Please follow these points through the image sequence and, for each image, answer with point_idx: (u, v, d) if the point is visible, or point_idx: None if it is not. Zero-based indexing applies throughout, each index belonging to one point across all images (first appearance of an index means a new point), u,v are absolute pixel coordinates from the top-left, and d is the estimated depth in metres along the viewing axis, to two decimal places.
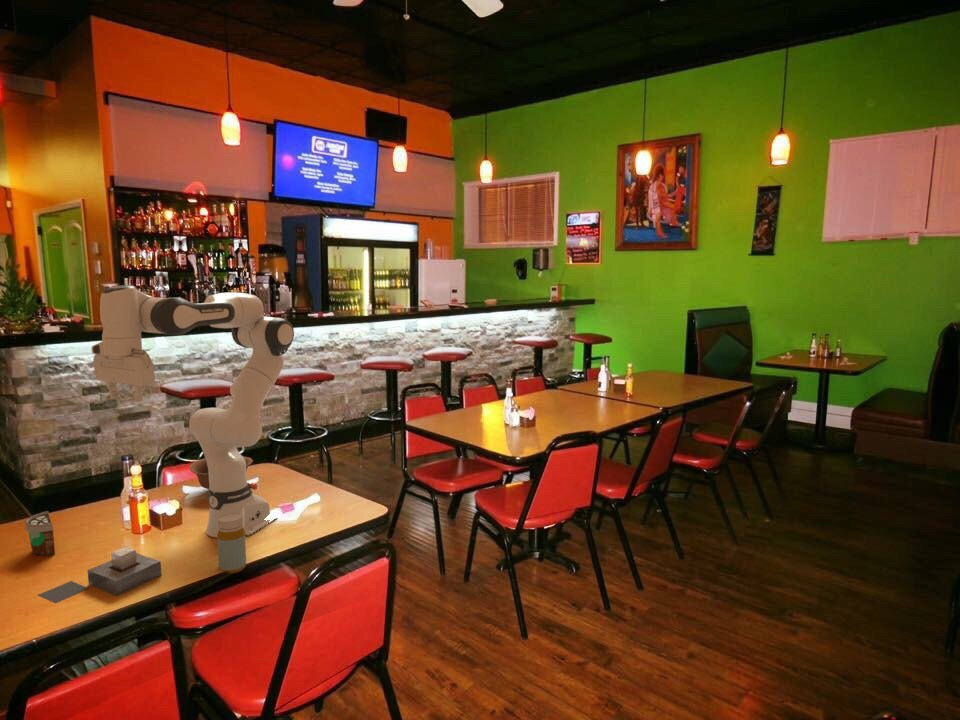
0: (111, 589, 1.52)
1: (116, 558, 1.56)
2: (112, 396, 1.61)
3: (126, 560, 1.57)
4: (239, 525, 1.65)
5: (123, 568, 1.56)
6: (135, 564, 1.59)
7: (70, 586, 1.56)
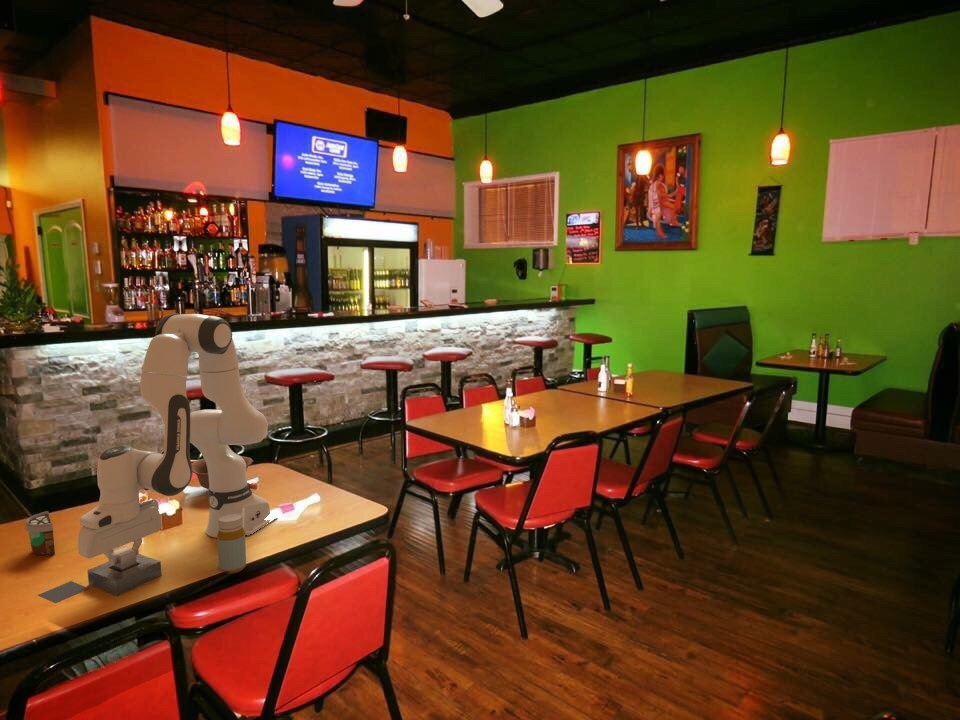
0: (111, 589, 1.52)
1: None
2: (116, 562, 1.56)
3: (126, 560, 1.57)
4: (239, 525, 1.65)
5: (123, 568, 1.56)
6: (135, 564, 1.59)
7: (70, 586, 1.56)
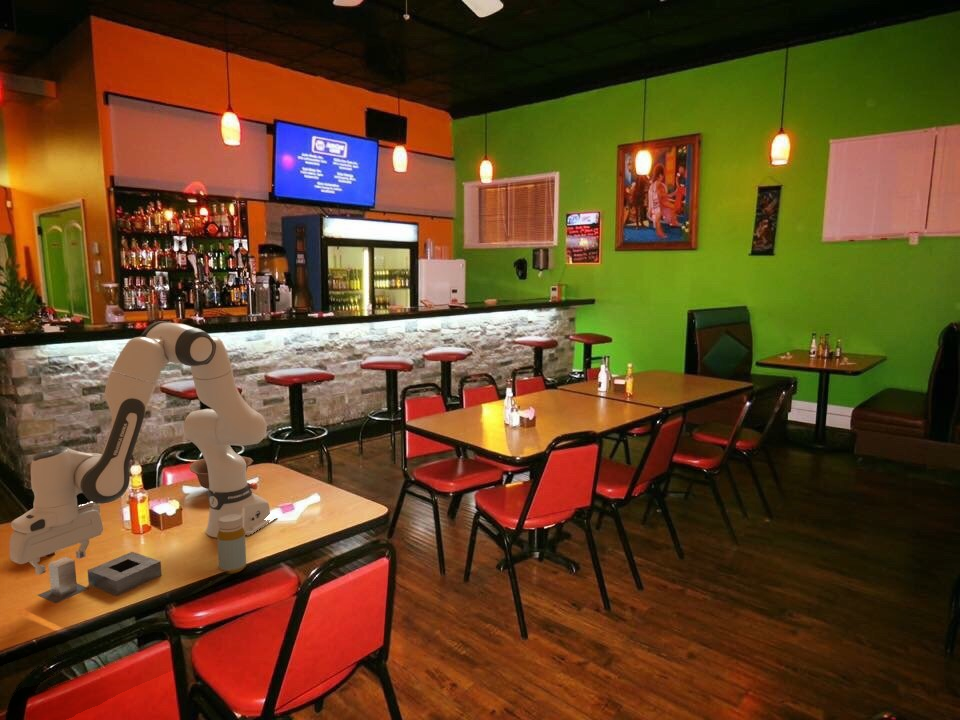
0: (111, 589, 1.52)
1: (53, 569, 1.50)
2: (43, 571, 1.48)
3: (64, 571, 1.51)
4: (239, 525, 1.65)
5: (60, 579, 1.50)
6: (74, 575, 1.53)
7: None
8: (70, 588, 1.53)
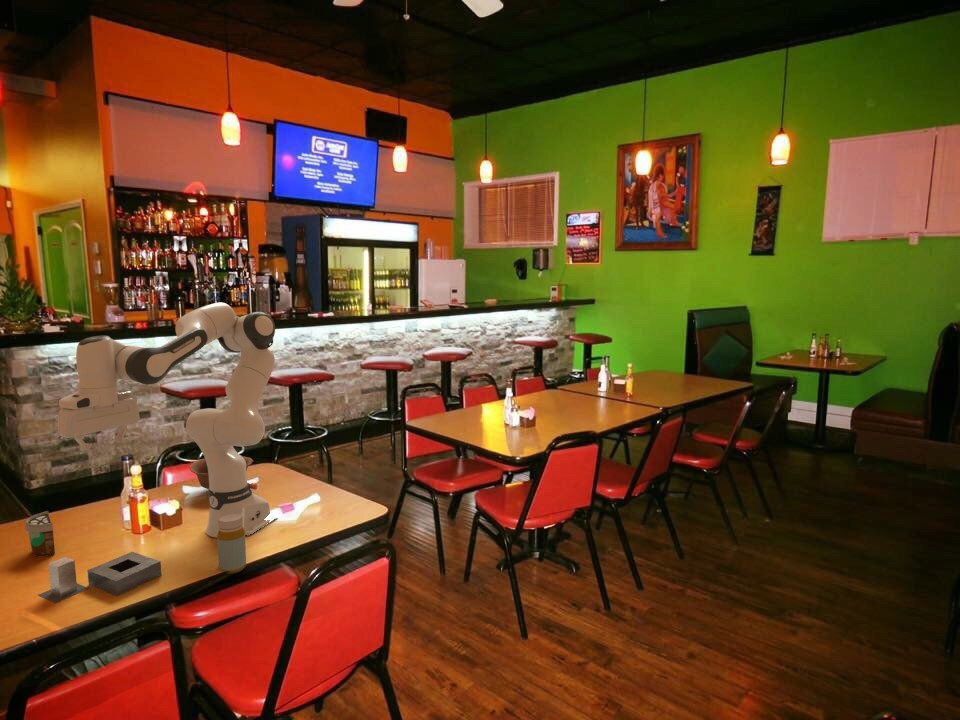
0: (111, 589, 1.52)
1: (53, 569, 1.50)
2: (87, 448, 1.61)
3: (64, 571, 1.51)
4: (239, 525, 1.65)
5: (60, 579, 1.50)
6: (74, 575, 1.53)
7: None
8: (70, 588, 1.53)
